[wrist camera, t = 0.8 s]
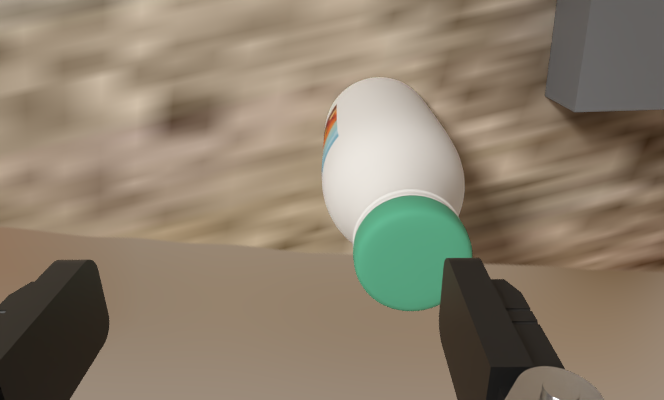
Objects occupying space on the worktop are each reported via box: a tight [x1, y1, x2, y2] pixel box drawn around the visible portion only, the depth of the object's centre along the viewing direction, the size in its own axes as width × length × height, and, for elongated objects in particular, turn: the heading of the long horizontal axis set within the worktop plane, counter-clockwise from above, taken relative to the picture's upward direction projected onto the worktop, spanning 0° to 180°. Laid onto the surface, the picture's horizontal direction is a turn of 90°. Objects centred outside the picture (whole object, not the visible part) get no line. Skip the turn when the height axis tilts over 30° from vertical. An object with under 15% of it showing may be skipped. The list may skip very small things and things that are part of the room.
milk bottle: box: [322, 77, 472, 311], centre depth 29 cm, size 8×8×20 cm
